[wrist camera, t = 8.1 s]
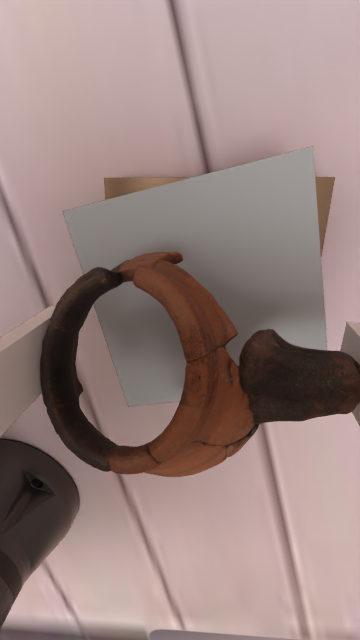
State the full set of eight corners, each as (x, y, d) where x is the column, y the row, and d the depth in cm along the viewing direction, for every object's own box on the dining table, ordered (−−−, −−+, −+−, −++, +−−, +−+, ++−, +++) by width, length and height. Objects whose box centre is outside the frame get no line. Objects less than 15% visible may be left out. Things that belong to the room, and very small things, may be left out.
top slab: (143, 375, 25) (127, 406, 21) (92, 208, 21) (62, 211, 17) (313, 354, 22) (330, 386, 19) (296, 156, 18) (312, 146, 14)
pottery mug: (146, 434, 19) (26, 494, 12) (136, 284, 20) (18, 257, 13) (371, 450, 14) (399, 580, 7) (344, 243, 15) (343, 152, 7)
